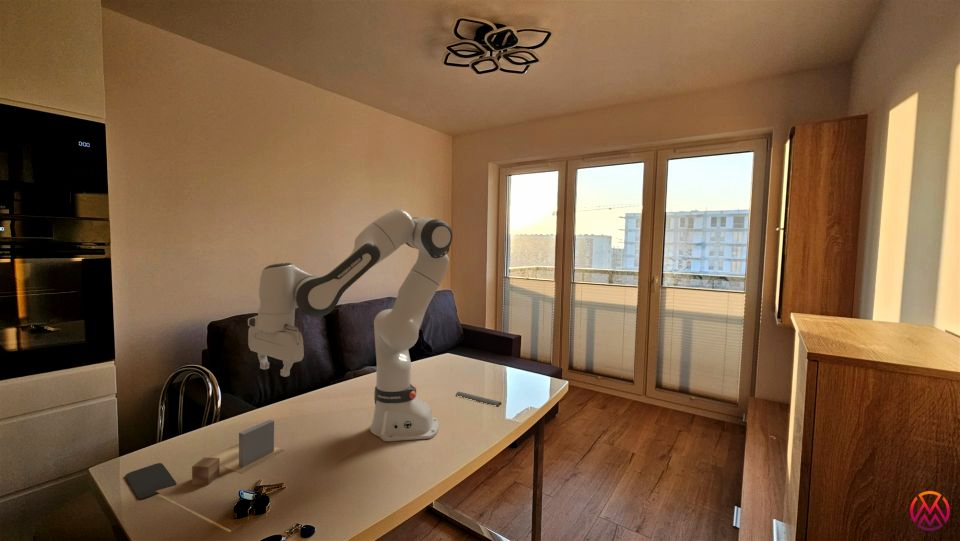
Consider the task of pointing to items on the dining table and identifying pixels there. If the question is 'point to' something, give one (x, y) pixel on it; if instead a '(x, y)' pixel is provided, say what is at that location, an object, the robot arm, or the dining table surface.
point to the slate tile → (256, 443)
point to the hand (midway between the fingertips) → (274, 372)
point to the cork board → (231, 458)
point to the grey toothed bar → (478, 398)
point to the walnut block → (205, 471)
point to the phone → (149, 480)
